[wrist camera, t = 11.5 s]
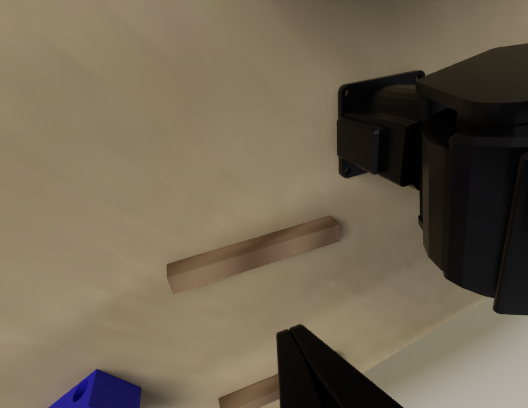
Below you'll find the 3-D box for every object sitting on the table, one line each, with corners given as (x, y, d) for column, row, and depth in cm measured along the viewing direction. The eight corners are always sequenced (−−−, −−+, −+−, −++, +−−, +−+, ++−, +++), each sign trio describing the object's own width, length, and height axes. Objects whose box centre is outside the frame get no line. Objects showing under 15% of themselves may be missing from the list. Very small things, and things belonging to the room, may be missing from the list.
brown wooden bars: (329, 215, 23) (339, 224, 21) (334, 359, 32) (341, 372, 30) (166, 264, 20) (166, 278, 19) (221, 406, 29) (224, 422, 28)
